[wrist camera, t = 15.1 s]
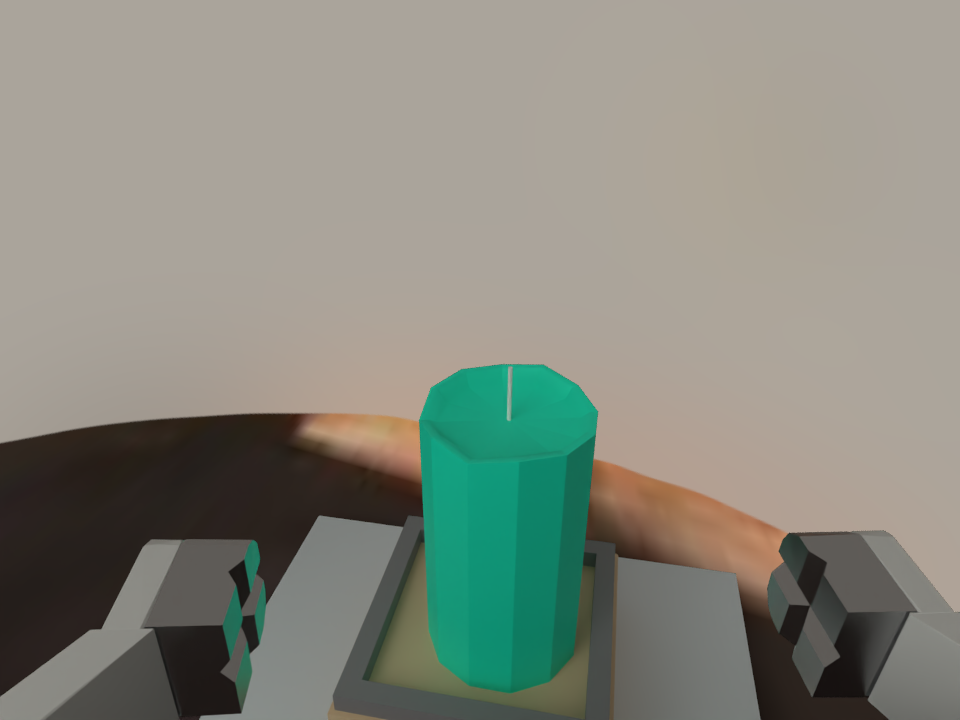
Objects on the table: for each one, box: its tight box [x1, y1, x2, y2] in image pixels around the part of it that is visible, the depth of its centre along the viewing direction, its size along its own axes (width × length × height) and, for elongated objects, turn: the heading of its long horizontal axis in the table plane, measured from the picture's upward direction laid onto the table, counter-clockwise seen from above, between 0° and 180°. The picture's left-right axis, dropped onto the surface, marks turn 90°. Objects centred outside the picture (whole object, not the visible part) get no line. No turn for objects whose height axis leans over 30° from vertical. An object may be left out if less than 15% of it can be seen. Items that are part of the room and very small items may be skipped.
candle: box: [419, 364, 598, 694], centre depth 25 cm, size 6×6×12 cm
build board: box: [199, 515, 761, 720], centre depth 29 cm, size 22×16×5 cm
